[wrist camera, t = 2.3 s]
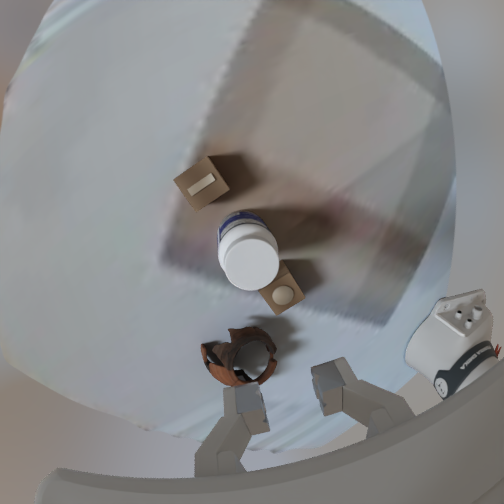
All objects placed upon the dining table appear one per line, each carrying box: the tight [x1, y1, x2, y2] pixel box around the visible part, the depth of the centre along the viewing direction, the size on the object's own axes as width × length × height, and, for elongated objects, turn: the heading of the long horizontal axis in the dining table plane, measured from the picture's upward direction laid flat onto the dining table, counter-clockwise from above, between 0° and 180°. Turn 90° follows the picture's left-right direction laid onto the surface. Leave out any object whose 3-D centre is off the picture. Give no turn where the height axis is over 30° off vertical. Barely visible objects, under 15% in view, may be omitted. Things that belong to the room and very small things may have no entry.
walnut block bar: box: [174, 156, 230, 212], centre depth 28 cm, size 4×4×4 cm
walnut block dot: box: [258, 260, 305, 316], centre depth 33 cm, size 4×4×4 cm
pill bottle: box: [217, 211, 279, 290], centre depth 28 cm, size 6×6×10 cm
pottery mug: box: [201, 327, 277, 387], centre depth 36 cm, size 12×10×8 cm
